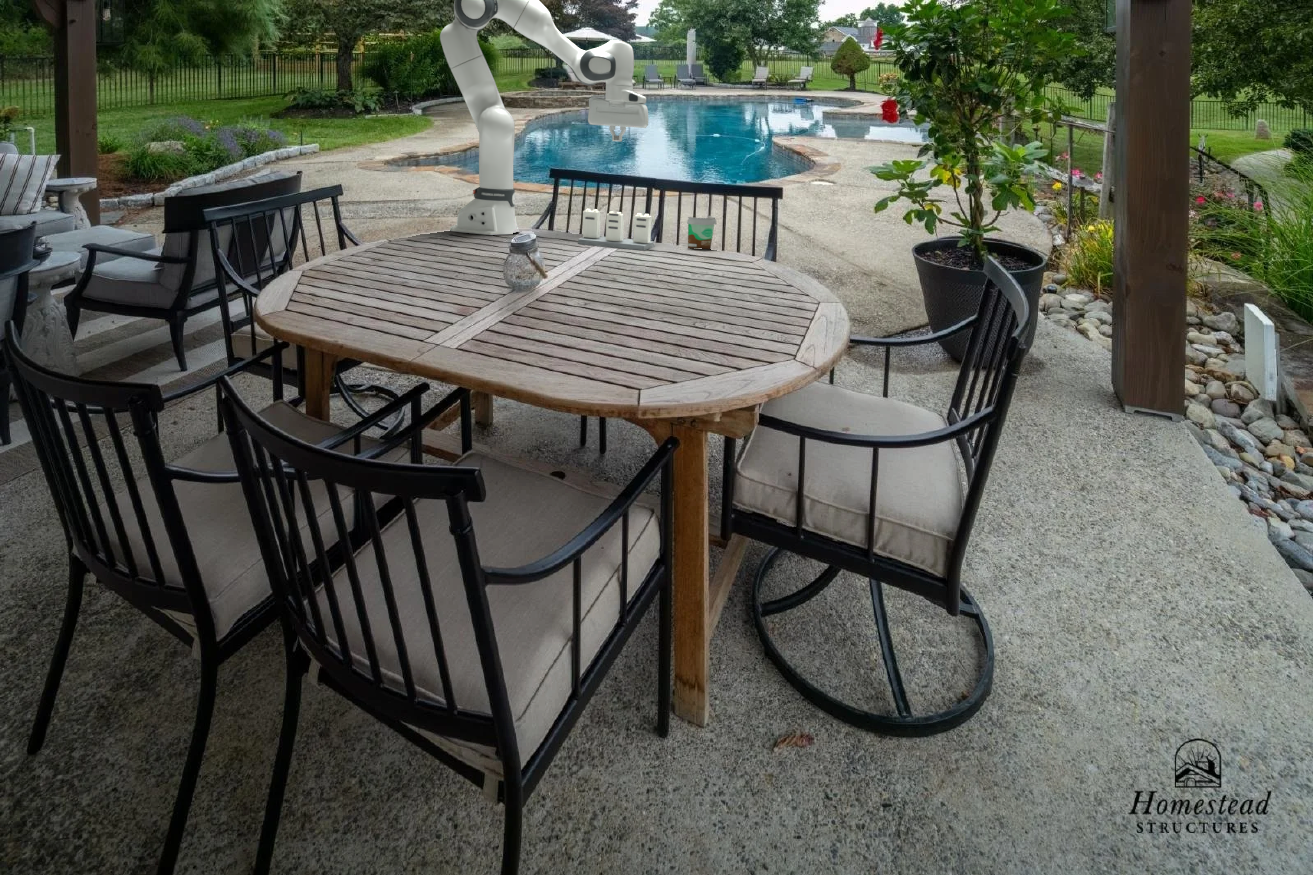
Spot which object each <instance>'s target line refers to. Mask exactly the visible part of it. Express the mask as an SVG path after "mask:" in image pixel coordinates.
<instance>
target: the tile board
mask: <svg viewBox="0 0 1313 875" xmlns="http://www.w3.org/2000/svg"><path fill="white" fill-rule="evenodd" d="M577 245H584V246H595V247H605V248H612V249H615V248H616V249H623V250H624V249H625V250H632V251H633V250H634V251H643V252H644V251H647V250H649V249H652V248H653V247H655V241H653V240H650V242H649V243H640V242H633V238H624V237H623V241H610V240H606V236H604V235H603V236H601V235H600V237H599V238H588V237H583V236H582V237H580V238H578V239H577Z"/></svg>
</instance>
